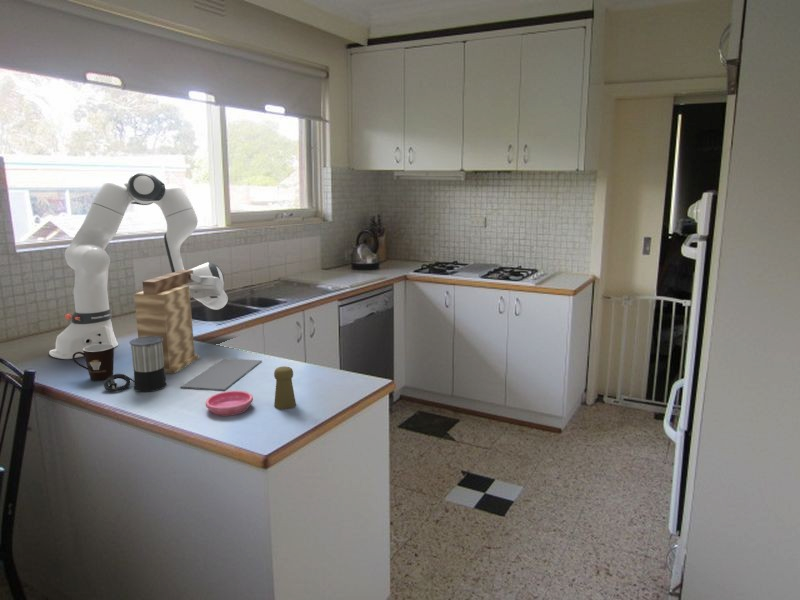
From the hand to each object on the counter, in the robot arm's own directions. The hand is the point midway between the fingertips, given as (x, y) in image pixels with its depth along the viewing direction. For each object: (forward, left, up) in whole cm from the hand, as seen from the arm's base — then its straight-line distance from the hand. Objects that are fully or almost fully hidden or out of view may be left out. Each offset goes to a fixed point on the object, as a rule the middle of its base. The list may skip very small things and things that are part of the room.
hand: (183, 275), depth 200 cm
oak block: (-12, -5, -29) cm, 31 cm away
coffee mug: (-32, +3, -29) cm, 43 cm away
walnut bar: (-8, -4, -2) cm, 9 cm away
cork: (-16, -63, -29) cm, 71 cm away
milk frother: (-31, -16, -29) cm, 45 cm away
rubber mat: (-8, -28, -29) cm, 41 cm away
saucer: (-26, -52, -29) cm, 65 cm away
